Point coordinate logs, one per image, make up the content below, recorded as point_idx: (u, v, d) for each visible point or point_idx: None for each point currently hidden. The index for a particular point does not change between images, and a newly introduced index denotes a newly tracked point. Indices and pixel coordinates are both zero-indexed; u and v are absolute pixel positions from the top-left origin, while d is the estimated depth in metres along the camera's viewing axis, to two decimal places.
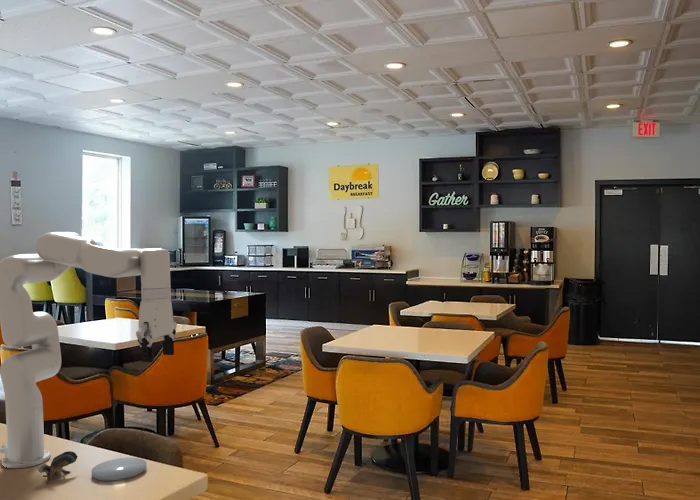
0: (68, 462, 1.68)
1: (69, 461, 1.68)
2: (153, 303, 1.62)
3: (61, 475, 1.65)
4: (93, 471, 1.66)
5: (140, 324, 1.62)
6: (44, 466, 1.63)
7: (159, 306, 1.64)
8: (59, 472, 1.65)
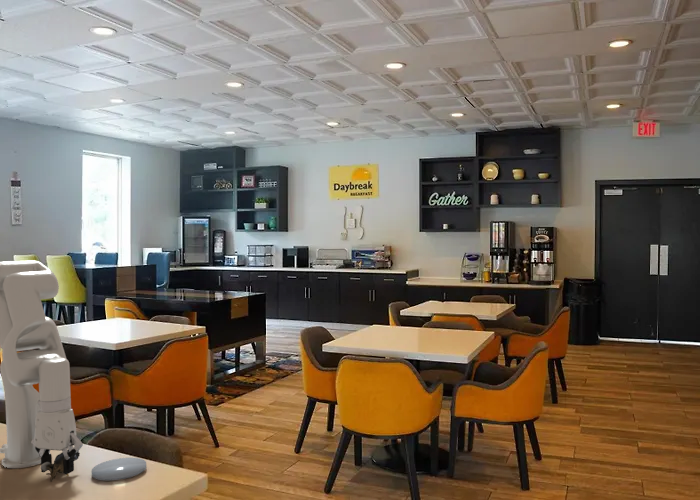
0: None
1: None
2: (71, 410, 1.66)
3: None
4: (93, 471, 1.66)
5: (67, 435, 1.63)
6: (47, 464, 1.65)
7: None
8: (62, 469, 1.67)
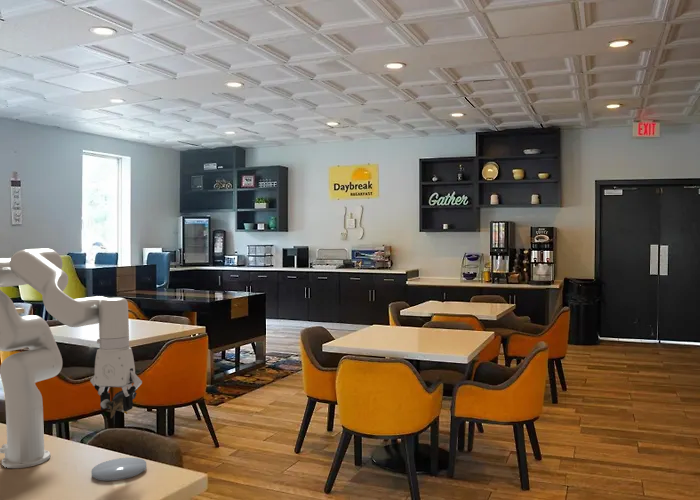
0: None
1: None
2: (130, 349, 1.69)
3: None
4: (93, 471, 1.66)
5: (127, 372, 1.65)
6: (107, 401, 1.67)
7: None
8: (121, 407, 1.69)
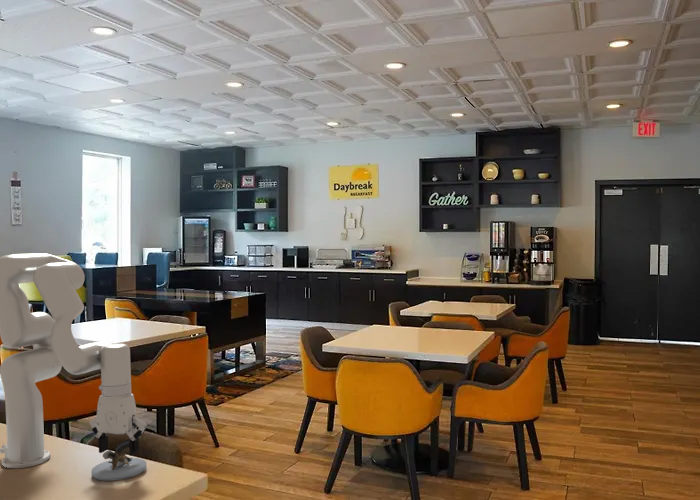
0: None
1: None
2: (132, 395, 1.69)
3: (125, 461, 1.69)
4: (93, 471, 1.66)
5: (129, 419, 1.66)
6: (109, 452, 1.68)
7: None
8: (123, 458, 1.69)
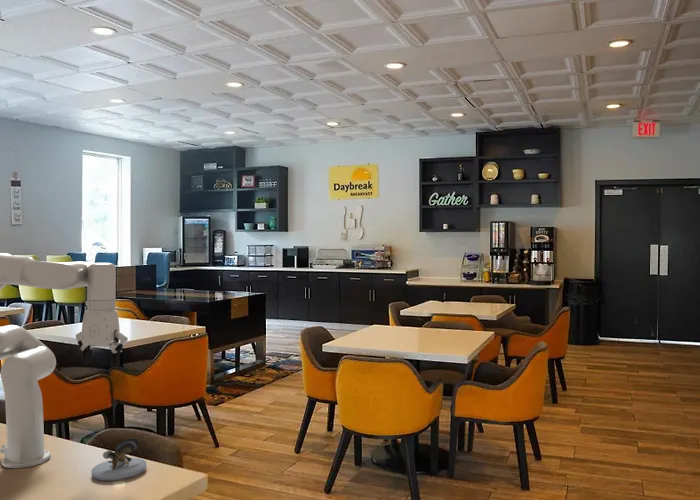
0: (131, 448, 1.72)
1: (132, 448, 1.73)
2: (116, 312, 1.78)
3: (125, 461, 1.70)
4: (93, 471, 1.66)
5: (111, 333, 1.75)
6: (109, 452, 1.68)
7: None
8: (123, 458, 1.69)
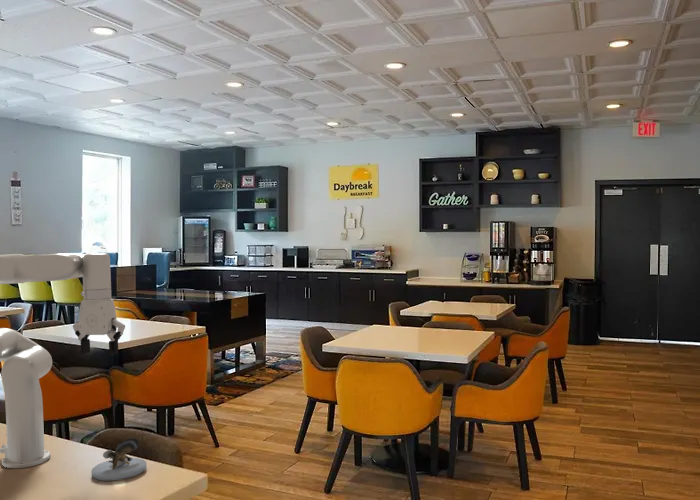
0: (131, 448, 1.73)
1: (132, 448, 1.73)
2: (112, 300, 1.82)
3: (125, 461, 1.70)
4: (93, 471, 1.66)
5: (109, 321, 1.78)
6: (109, 452, 1.68)
7: None
8: (123, 458, 1.70)
